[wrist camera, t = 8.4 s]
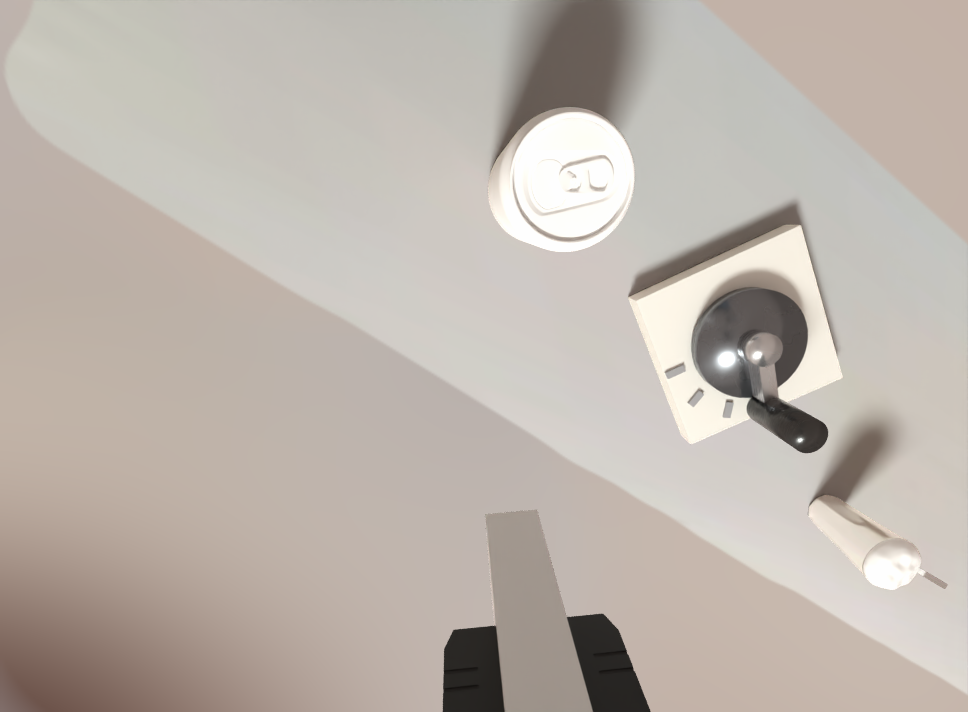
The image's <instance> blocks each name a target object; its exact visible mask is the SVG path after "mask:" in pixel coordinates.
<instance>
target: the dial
mask: <svg viewBox="0 0 968 712" xmlns="http://www.w3.org/2000/svg"><path fill="white" fill-rule="evenodd" d="M807 342H808V328H807V323H806V320H805V317H804V315H803V313H802V311H801V309H800V308H799V306H798V305H797V304H796V303H795V302H794V301H793V300H792V299H791V298H789V297H788V296H786V295H784V294H782V293H780V292H777V291H774V290H770V289H765V288H760V287H745V288H740V289H736V290H734V291H731V292H729V293H727V294H725V295H723V296H721V297H720V298H718V299H717V300H716V301H714V302H713V303H712V304H711V305H710V306H709V307H708V308H707V309H706V310H705V312H704V313H703V314H702V316H701V317H700V319H699V321H698V323H697V325H696V327H695V330H694V333H693V337H692V343H691V352H692V359H693V363H694V365H695V368H696V370H697V371H698V373H699V375H700V376H701V377H702V378H703V380H705V381H706V382H707V383H708V384H709V385H711V386H712V387H714V388H715V389H717V390H718V391H720V392H722V393H724V394H726V395H729V396H732V397H738V398H751V399H750V400H749V401H748V404H747V414H748V416H749V417H750V418H751V419H753V420H754V421H755V422H757V423H758V424H760V425H761V426H763V427H764V428H766V429H767V430H769V431H770V432H772V433H773V434H775V435H776V436H777V437H779V438H780V439H782V440H783V441H785V442H786V443H788V444H789V445H791V446H792V447H794V448H795V449H797V450H798V451H800V452H802V453H812V452H815V451H817V450H818V449H820V448H821V447H822V446H823V445H824V444H825V442H826V440H827V437H828V429H827V427H826V425H825V424H824V423H823V422H821V421H819V420H818V419H816V418H814V417H812V416H811V415H809V414H807V413H805V412H803V411H802V410H800V409H798V408H796V407H794V406H793V405H791V404H789V403H787V402H786V401H784V400H782V399H780V398H779V395H778V387H780V386H781V385H782V384H783V383H785V382H786V381H787V380H788V379H789V378H790V377H791V376H792V375H793V373H794V372H795V371H796V370H797V368H798V367H799V365H800V363H801V361H802V359H803V357H804V354H805V351H806V347H807Z"/></svg>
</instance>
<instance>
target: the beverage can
mask: <svg viewBox="0 0 968 712" xmlns="http://www.w3.org/2000/svg"><path fill="white" fill-rule="evenodd" d="M634 185H635V168H634V162H633V157H632V154H631V151H630V148H629V146H628V144H627V142H626V140H625V138H624V137H623V135H622V134H621V132H620V131H619V130H618V129H617V128H616V127H615V126H614V125H613V124H612V123H611V122H610V121H609V120H607V119H606V118H605V117H603V116H601V115H600V114H598V113H596V112H593V111H590V110H587V109H583V108H578V107H562V108H556V109H552V110H548V111H546V112H543V113H541V114H539V115H537V116H535V117H534V118H532V119H531V120H529V121H528V122H527V123H526V124H524V125H523V126H522V127H521V128H520V129H519V130H518V131H517V133H516V134H515V135H514V136H513V138H512V139H511V140H510V142H509V143H508V144H507V146H506V147H505V149H504V150H503V151H502V153H501V154H500V155H499V157H498V158H497V160H496V162H495V163H494V165H493V168H492V170H491V173H490V177H489V183H488V198H489V203H490V207H491V210H492V212H493V215H494V217H495V218H496V220H497V222H498V223H499V224H500V226H501V227H502V228H503V229H504V230H505V231H506V232H507V233H509V234H510V235H512V236H513V237H515V238H517V239H519V240H521V241H524V242H527V243H530V244H532V245H535V246H538V247H541V248H544V249H547V250H551V251H558V252H570V251H577V250H581V249H584V248H587V247H589V246H592V245H594V244H596V243H598V242H599V241H601V240H602V239H604V238H605V237H606V236H607V235H609V234H610V233H611V232H612V231H613V230H614V229H615V228H616V227H617V225H618V224H619V223H620V221H621V220H622V219H623V217H624V215H625V213H626V212H627V210H628V207H629V205H630V202H631V199H632V196H633V191H634Z"/></svg>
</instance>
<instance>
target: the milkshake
mask: <svg viewBox="0 0 968 712" xmlns="http://www.w3.org/2000/svg"><path fill="white" fill-rule="evenodd" d="M808 516H809V517H810V519H811V520H812V522H813V523H814V524H815V525H816V526H817V527H818V528H819V529H820V530H821V531H822V532H823V533H824V534H825V535H826V536H827V537H828V538H829V539H830V540H831V541H832V542H833V543H834V544H835V545H836V546H837V547H838V548H839V549H840V550H841V551H842V552H843V553H844V554H845V555H846V556H847V558H848V559H849V560H850V561H851V562H852V563H853V564H854V565H855V566H856V567H857V569H858V570H859V571H860V572H861V573H862V574H863V575H864V576H865V577H866V578H867V579H868V581H869V582H870V583H872V584H873V585H875V586H878V587H881V588H885V589H891V590H894V589H897V588H898V587H900V586H903V585H906V584H908V583H909V582H910V581H911V580H912V579H913V577H914V576H915V575H916V574H917V573H919V574H920V575H922V576H924V577H925V578H927V579H929V580H930V581H932V582H934V583H935V584H937V585H939V586H940V587H942V588H944V589H945V588H946V587H947V584H946V583H945V582H943V581H941V580H940V579H938V578H936V577H934V576H933V575H931V574H929V573H928V572H926V571H924V570H923V569H921V568H919V567H920V564H921V556H920V553H919V551H918V549H917V548H916V546H915V545H914V544H912V543H911V542H909V541H908V540H906V539H904V538H903V537H901V536H899V535H897V534H896V533H894V532H892V531H891V530H889V529H887V528H885V527H884V526H882V525H880V524H879V523H877V522H876V521H874V520H873V519H871V518H869V517H868V516H866V515H865V514H863V513H861V512H860V511H858V510H857V509H855V508H853V507H852V506H850V505H849V504H847V503H845V502H844V501H842V500H840V499H839V498H837V497H835V496H830V495H824V496H821V497H818V498H816V499H815V500H814V501H813V502H812V504H811V505H810V506H809V512H808Z"/></svg>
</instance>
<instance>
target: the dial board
mask: <svg viewBox="0 0 968 712" xmlns="http://www.w3.org/2000/svg"><path fill="white" fill-rule="evenodd" d="M745 287H760V288H765V289H770V290H774V291H777V292H780V293H782V294H784V295H786V296H788V297H789V298H791V299H792V300H793V301H794V302H795V303H796V304H797V305H798V306H799V308H800V309H801V311H802V313H803V315H804V317H805V320H806V323H807V328H808V342H807V347H806V351H805V354H804V357H803V359H802V361H801V363H800V365H799V367H798V368H797V370H796V371H795V372H794V373H793V375H792V376H791V377H790V378H789V379H788V380H787V381H786V382H785V383H783V384H782V385H781V386H780V387H778V395H779V398H780V399H782V400H784V401H786V402H789V401H791V400H793V399H796V398H798V397H800V396H803V395H805V394H807V393H809V392H812V391H814V390H816V389H818V388H821V387H823V386H825V385H828V384H830V383H832V382H834V381H837V380H839V379H841V378H843V376H842V373H841V369H840V366H839V362H838V358H837V355H836V351H835V347H834V344H833V340H832V337H831V333H830V329H829V326H828V322H827V318H826V315H825V311H824V307H823V304H822V300H821V297H820V293H819V289H818V286H817V282H816V278H815V275H814V271H813V267H812V264H811V260H810V257H809V253H808V249H807V246H806V242H805V238H804V235H803V231H802V228H801V225H783V226H781V227H779V228H776V229H774V230H772V231H770V232H768V233H766V234H764V235H761V236H759V237H757V238H755V239H753V240H751V241H748V242H746V243H744V244H742V245H740V246H738V247H735V248H733V249H731V250H729V251H727V252H725V253H722V254H720V255H718V256H716V257H714V258H712V259H709V260H707V261H705V262H703V263H701V264H699V265H696V266H694V267H692V268H690V269H688V270H686V271H683V272H681V273H679V274H677V275H675V276H673V277H671V278H668V279H666V280H664V281H662V282H660V283H658V284H655V285H653V286H651V287H649V288H647V289H645V290H642V291H640V292H638V293H636V294H634V295H632V296H629V297H628V299H629V301H630V304H631V306H632V309H633V312H634V314H635V317H636V319H637V322H638V325H639V327H640V330H641V332H642V335H643V337H644V340H645V343H646V345H647V348H648V350H649V353H650V356H651V358H652V361H653V363H654V366H655V369H656V371H657V374H658V376H659V379H660V382H661V384H662V387H663V389H664V392H665V395H666V397H667V400H668V402H669V405H670V408H671V410H672V413H673V415H674V418H675V421H676V423H677V426H678V428H679V431H680V433H681V435H682V436H683V437H684V438H685V439H686V440H687V441H688V442H689V443H690V444H693V443H696V442H698V441H700V440H702V439H705V438H707V437H709V436H711V435H714V434H716V433H718V432H721V431H723V430H725V429H727V428H730V427H732V426H734V425H737V424H739V423H741V422H743V421H746V420H748V419H750V417H749V416H748V414H747V404H748V401H749V400H750V399H751V398H738V397H732V396H729V395H726V394H724V393H722V392H720V391H718V390H717V389H715V388H714V387H712V386H711V385H709V384H708V383H707V382H706V381H705V380H703V378H702V377H701V376H700V375H699V373H698V371H697V370H696V368H695V365H694V363H693V359H692V352H691V343H692V337H693V333H694V330H695V327H696V325H697V323H698V321H699V319H700V317H701V316H702V314H703V313H704V312H705V310H706V309H707V308H708V307H709V306H710V305H711V304H712V303H713V302H714V301H716V300H717V299H718V298H720V297H721V296H723V295H725V294H727V293H729V292H731V291H734V290H736V289H740V288H745Z"/></svg>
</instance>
